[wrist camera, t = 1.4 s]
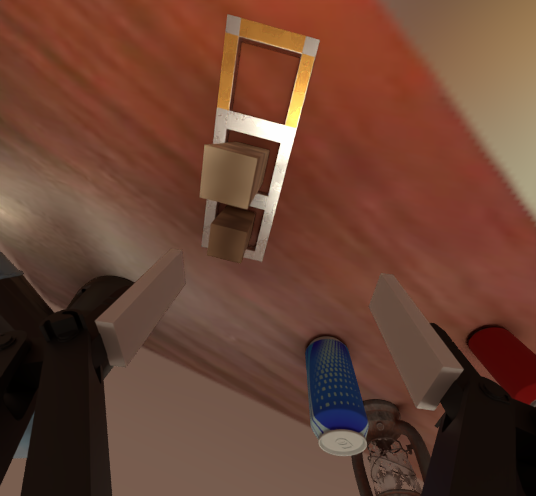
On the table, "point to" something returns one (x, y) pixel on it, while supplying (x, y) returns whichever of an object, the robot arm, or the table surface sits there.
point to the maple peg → (232, 173)
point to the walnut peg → (231, 234)
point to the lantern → (389, 452)
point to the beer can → (335, 398)
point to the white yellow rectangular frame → (284, 134)
